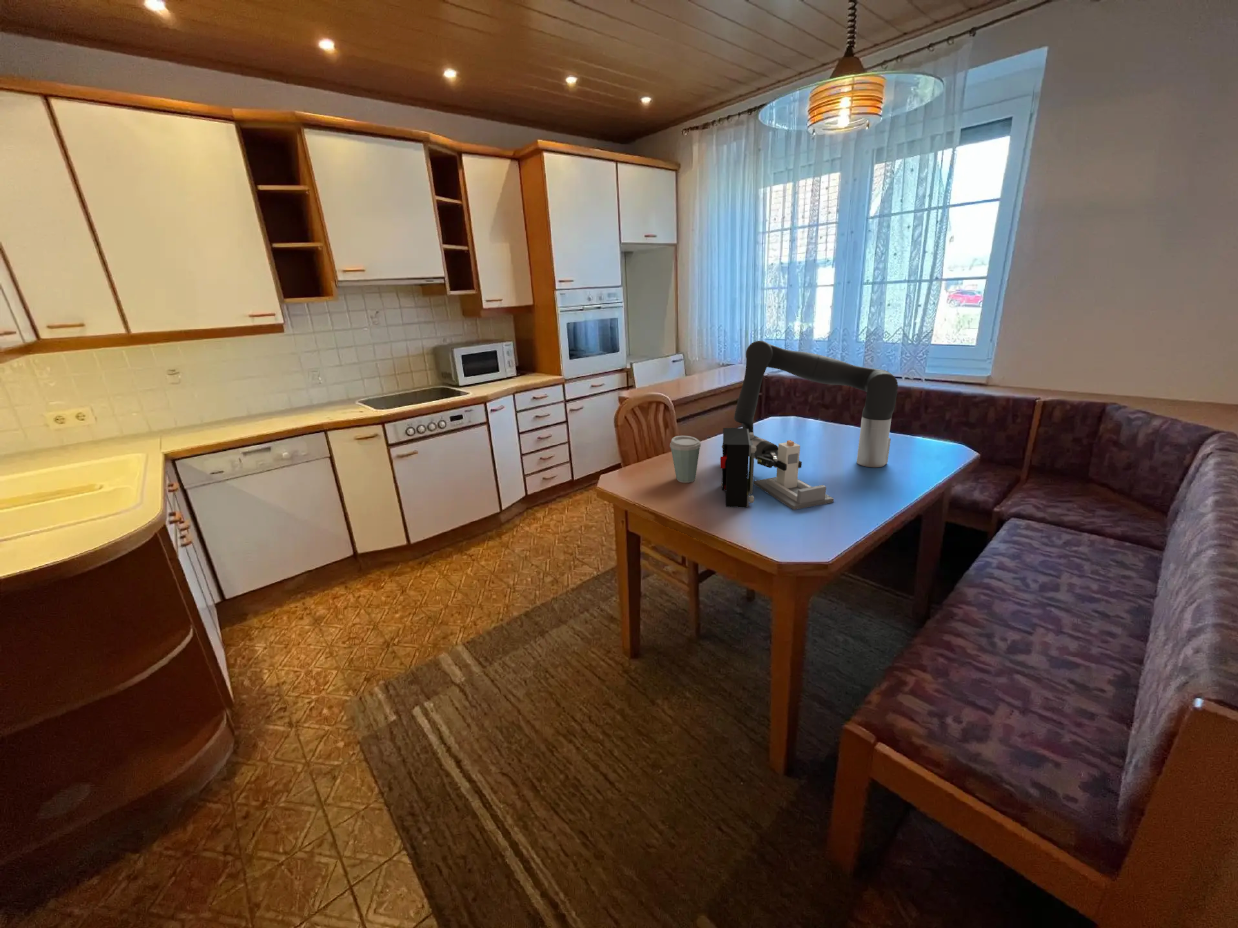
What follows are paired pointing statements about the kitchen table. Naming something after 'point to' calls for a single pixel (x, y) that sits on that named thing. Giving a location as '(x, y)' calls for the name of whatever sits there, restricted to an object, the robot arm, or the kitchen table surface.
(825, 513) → the kitchen table surface
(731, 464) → the electrical component
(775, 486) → the panel
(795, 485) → the block
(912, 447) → the kitchen table surface
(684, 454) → the disposable coffee cup
